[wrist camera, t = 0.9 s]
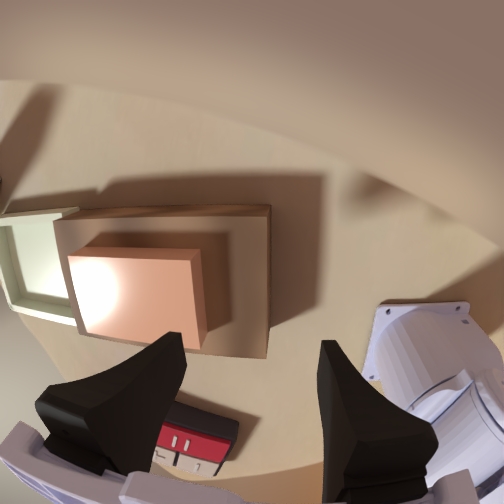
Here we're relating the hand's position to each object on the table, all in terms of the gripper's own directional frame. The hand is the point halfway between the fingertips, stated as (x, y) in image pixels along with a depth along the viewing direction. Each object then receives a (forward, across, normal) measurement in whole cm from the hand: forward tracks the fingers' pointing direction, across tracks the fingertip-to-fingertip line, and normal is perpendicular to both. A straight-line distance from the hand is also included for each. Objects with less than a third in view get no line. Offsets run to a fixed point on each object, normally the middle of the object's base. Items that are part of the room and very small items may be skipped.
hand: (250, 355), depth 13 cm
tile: (+6, +8, 0) cm, 10 cm away
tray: (+10, +22, 0) cm, 24 cm away
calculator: (+10, +12, +21) cm, 26 cm away
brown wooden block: (+10, +8, 0) cm, 13 cm away
